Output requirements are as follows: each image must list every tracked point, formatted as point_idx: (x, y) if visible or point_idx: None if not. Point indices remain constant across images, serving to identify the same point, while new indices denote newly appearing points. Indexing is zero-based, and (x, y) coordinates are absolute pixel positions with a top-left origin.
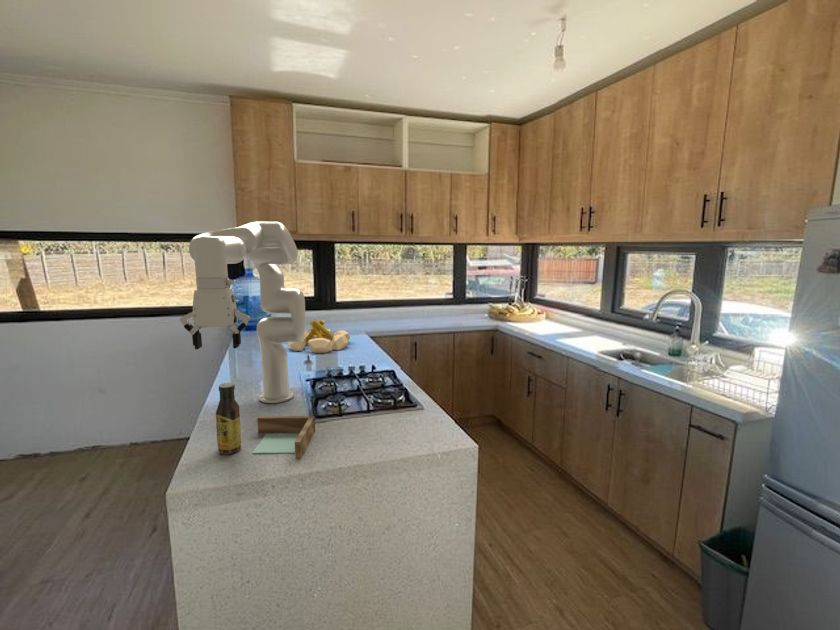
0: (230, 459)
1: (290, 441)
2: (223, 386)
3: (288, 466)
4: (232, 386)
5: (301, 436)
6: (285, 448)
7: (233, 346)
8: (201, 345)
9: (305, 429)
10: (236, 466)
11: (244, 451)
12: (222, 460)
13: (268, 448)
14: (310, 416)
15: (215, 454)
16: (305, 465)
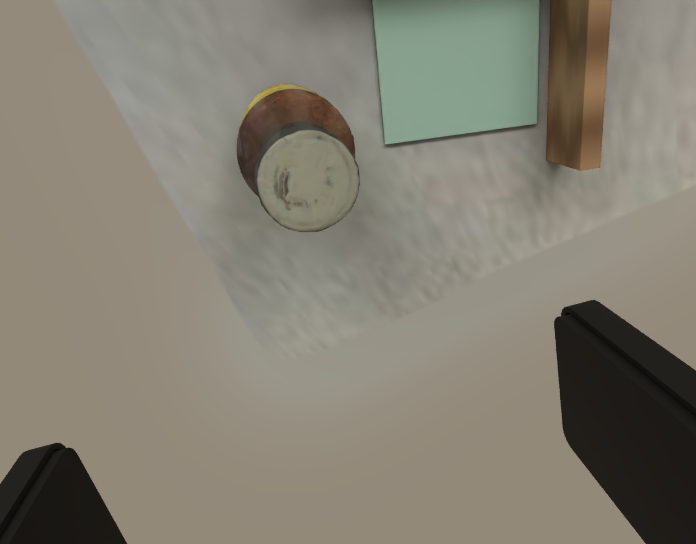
0: None
1: (497, 33)
2: (305, 215)
3: (535, 209)
4: (357, 190)
5: (597, 122)
6: (495, 97)
7: (580, 454)
8: (72, 475)
9: (601, 51)
10: (372, 231)
11: None
12: None
13: (432, 105)
14: None
15: None
16: (586, 196)
